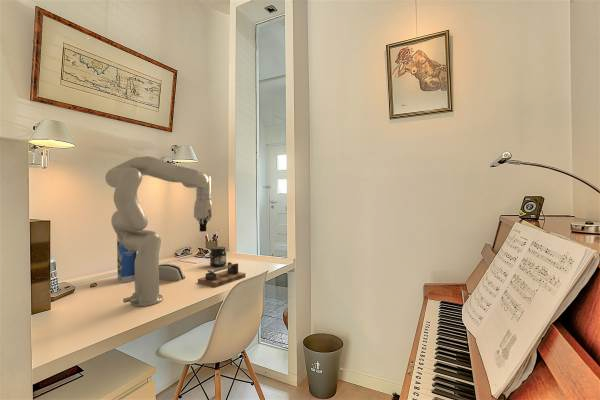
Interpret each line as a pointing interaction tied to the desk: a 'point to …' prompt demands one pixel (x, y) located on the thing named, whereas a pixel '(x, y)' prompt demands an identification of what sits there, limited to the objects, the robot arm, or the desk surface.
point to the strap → (221, 268)
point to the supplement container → (218, 257)
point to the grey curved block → (170, 272)
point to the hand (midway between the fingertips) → (202, 231)
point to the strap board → (222, 277)
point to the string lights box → (125, 263)
